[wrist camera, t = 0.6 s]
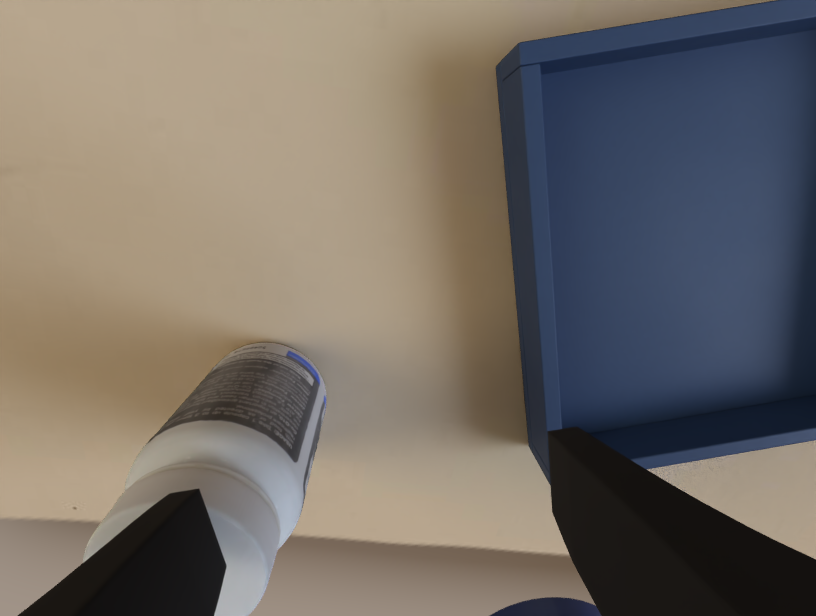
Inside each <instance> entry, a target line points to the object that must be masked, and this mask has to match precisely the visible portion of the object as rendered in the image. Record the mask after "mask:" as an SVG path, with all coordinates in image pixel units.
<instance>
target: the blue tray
mask: <svg viewBox="0 0 816 616" xmlns="http://www.w3.org/2000/svg"><path fill="white" fill-rule="evenodd" d="M496 75H497V87H498V98H499V109H500V121H501V132H502V144H503V155H504V167H505V178H506V190H507V201H508V213H509V224H510V236H511V247H512V259H513V270H514V282H515V293H516V305H517V316H518V328H519V339H520V351H521V362H522V374H523V385H524V397H525V408H526V420H527V431H528V443H529V447H530V449H531V451H532V453H533V455H534V456H535V458H536V460H537V462H538V464H539V466H540V467H541V469H542V471H543V473H544V475H545V476H546V478H547V480H548V482H549V484H550V485H551V481H550V465H549V449H548V433H547V431H552V430H558V429H564V428H571V427H578V428H580V429H582V430H584V431H585V432H587V433H589V434H590V435H592V436H593V437H595V438H597V439H598V440H600V441H601V442H603V443H605V444H606V445H608V446H609V447H611V448H612V449H614V450H616V451H617V452H619V453H620V454H622V455H624V456H625V457H627V458H628V459H630V460H632V461H633V462H635V463H636V464H638V465H640V466H641V467H643V468H645V469H651V468H657V467H663V466H669V465H674V464H680V463H686V462H692V461H698V460H703V459H709V458H715V457H721V456H726V455H732V454H738V453H744V452H750V451H755V450H761V449H767V448H773V447H779V446H784V445H790V444H796V443H802V442H808V441H813V440H816V0H776V1H770V2H764V3H758V4H751V5H745V6H739V7H733V8H727V9H721V10H715V11H709V12H703V13H696V14H690V15H684V16H678V17H672V18H666V19H660V20H654V21H648V22H642V23H635V24H629V25H623V26H617V27H611V28H605V29H599V30H593V31H587V32H580V33H574V34H568V35H562V36H556V37H550V38H544V39H538V40H532V41H525V42H520V43H518V44H517V45H516V46H515V47H514V48H513V49H512V50H511V51H510V52H509V53H508V54H507V55H506V56H505V57H504V58H503V59H502V60H501V62H500V63H499V64H498V65H497V66H496Z"/></svg>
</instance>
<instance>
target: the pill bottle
mask: <svg viewBox="0 0 816 616" xmlns="http://www.w3.org/2000/svg"><path fill="white" fill-rule="evenodd" d="M326 401H327V398H326V389H325V384H324V381H323V379H322V377H321V375H320V373H319V371H318V369H317V368H316V367H315V365H314V364H313V363H312V362H311V361H310V360H309V359H308V358H307V357H306V356H304V355H303V354H302V353H300V352H298V351H296V350H294V349H292V348H290V347H287V346H284V345H280V344H277V343H255V344H250V345H246V346H243V347H240V348H238V349H236V350H234V351H232V352H231V353H229V354H228V355H227V356H225V357H224V358H223V359H222V360H221V361H220V362H219V363H218V364H217V365H216V366H215V367H214V368H213V369H212V370H211V371H210V373H209V374H208V375H207V376H206V377H205V379H204V380H203V381H202V382H201V383H200V384H199V386H198V387H197V388H196V389H195V390H194V391H193V392H192V394H191V395H190V396H189V397H188V398H187V399H186V400H185V402H184V403H183V404H182V405H181V406H180V407H179V408H178V409H177V411H176V412H175V413H174V414H173V415H172V416H171V417H170V418H169V419H168V421H167V422H166V423H165V424H164V425H163V427H162V428H161V429H160V430H159V431H158V432H157V433H156V434H155V435H154V436H153V437H152V438H151V439H150V440H149V442H148V443H147V444H146V445H145V446H144V447H143V448H142V450H141V451H140V453H139V454H138V456H137V457H136V459H135V461H134V462H133V464H132V466H131V468H130V471H129V473H128V476H127V479H126V484H125V491H124V493H123V494H122V495H121V496H120V497H119V499H118V500H117V502H116V503H115V505H114V506H113V508H112V509H111V510H110V512H109V513H108V514H107V516H106V517H105V518H104V519H103V521H102V522H101V523H100V525H99V526H98V527H97V529H96V530H95V532H94V533H93V535H92V536H91V538H90V540H89V542H88V544H87V546H86V549H85V552H84V557H83V563H84V562H85V561H86V560H87V559H89V558H90V557H91V556H92V555H93V554H95V553H96V552H97V551H98V550H99V549H101V548H102V547H103V546H104V545H105V544H107V543H108V542H109V541H110V540H111V539H113V538H114V537H115V536H116V535H117V534H119V533H120V532H121V531H122V530H123V529H125V528H126V527H127V526H128V525H129V524H131V523H132V522H133V521H134V520H136V519H137V518H138V517H139V516H141V515H142V514H143V513H144V512H145V511H147V510H148V509H149V508H151V507H152V506H153V505H154V504H156V503H157V502H158V501H160V500H161V499H162V498H164V497H165V496H167V495H168V494H169V493H174V492H180V491H187V490H193V489H200V492H201V495H202V497H203V500H204V503H205V506H206V509H207V512H208V514H209V517H210V520H211V523H212V526H213V529H214V531H215V534H216V537H217V540H218V543H219V545H220V548H221V551H222V554H223V557H224V560H225V562H226V565H227V567H226V572H225V576H224V580H223V584H222V588H221V592H220V596H219V600H218V604H217V607H216V611H215V614H214V616H248V615H249V614H250V613H251V612H252V611H253V610H254V609H255V607H256V606H257V605H258V603H259V602H260V600H261V599H262V597H263V594H264V592H265V590H266V587H267V584H268V581H269V578H270V573H271V570H272V567H273V564H274V561H275V557H276V553H277V550H278V549H279V548H280V547H281V546H282V545H283V544H284V542H285V541H286V540H287V539H288V537H289V536H290V535H291V533H292V532H293V530H294V528H295V526H296V524H297V522H298V519H299V517H300V514H301V511H302V507H303V503H304V499H305V495H306V490H307V485H308V481H309V477H310V472H311V468H312V464H313V460H314V456H315V452H316V449H317V443H318V440H319V434H320V431H321V426H322V423H323V419H324V415H325V409H326Z"/></svg>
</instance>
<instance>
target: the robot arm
mask: <svg viewBox="0 0 816 616" xmlns="http://www.w3.org/2000/svg"><path fill="white" fill-rule="evenodd" d="M547 433H548V449H549V465H550V481H551V497H552V512H553V515H554V517H555V520H556V522H557V525H558V527H559V530H560V532H561V535H562V537H563V540H564V542H565V545H566V547H567V549H568V552H569V554H570V556H571V559H572V561H573V563H574V565H575V567H576V569H577V571H578V573H579V575H580V576H581V578H582V580H583V582H584V584H585V586H586V588H587V589H588V591H589V593H590V595H591V597H592V599H593V601H594V603H595V604H596V606H597V608H598V610H599V612H600V614H601V615H602V616H816V559H813V558H811V557H809V556H807V555H805V554H803V553H801V552H799V551H796V550H794V549H792V548H790V547H788V546H786V545H784V544H782V543H779V542H777V541H775V540H773V539H771V538H769V537H767V536H765V535H763V534H761V533H759V532H757V531H755V530H753V529H751V528H749V527H747V526H745V525H744V524H742V523H740V522H738V521H736V520H734V519H732V518H731V517H729V516H727V515H725V514H723V513H721V512H719V511H718V510H716V509H714V508H712V507H710V506H708V505H706V504H705V503H703V502H701V501H699V500H697V499H696V498H694V497H692V496H690V495H689V494H687V493H685V492H683V491H682V490H680V489H678V488H676V487H675V486H673V485H671V484H670V483H668V482H666V481H664V480H663V479H661V478H659V477H658V476H656V475H654V474H653V473H651V472H649V471H648V470H646V469H645V468H643V467H641V466H640V465H638V464H636V463H635V462H633V461H632V460H630V459H628V458H627V457H625V456H624V455H622V454H620V453H619V452H617V451H616V450H614V449H612V448H611V447H609V446H608V445H606V444H605V443H603V442H601V441H600V440H598V439H597V438H595V437H593V436H592V435H590V434H589V433H587V432H585V431H584V430H582V429H580V428H578V427H571V428H564V429H558V430H552V431H547ZM226 567H227V565H226V562H225V560H224V557H223V554H222V551H221V548H220V545H219V543H218V540H217V537H216V534H215V531H214V529H213V526H212V523H211V520H210V517H209V514H208V512H207V509H206V506H205V503H204V500H203V497H202V495H201V492H200V489H193V490H187V491H180V492H174V493H169V494H168V495H167V496H165V497H164V498H162V499H161V500H160V501H158V502H157V503H156V504H154V505H153V506H152V507H151V508H149V509H148V510H147V511H145V512H144V513H143V514H142V515H141V516H139V517H138V518H137V519H136V520H134V521H133V522H132V523H131V524H129V525H128V526H127V527H126V528H125V529H123V530H122V531H121V532H120V533H119V534H117V535H116V536H115V537H114V538H113V539H111V540H110V541H109V542H108V543H107V544H105V545H104V546H103V547H102V548H101V549H99V550H98V551H97V552H96V553H95V554H93V555H92V556H91V557H90V558H89V559H87V560H86V561H85V562H84V563H83V564H81V565H80V566H79V567H78V568H77V569H75V570H74V571H73V572H72V573H70V574H69V575H68V576H67V577H66V578H65V579H63V580H62V581H61V582H60V583H59V584H57V585H56V586H55V587H54V588H52V589H51V590H50V591H48V592H47V593H46V594H45V595H43V596H42V597H41V598H40V599H38V600H37V601H36V602H34V603H33V604H32V605H31V606H29V607H28V608H27V609H26V610H24V611H23V612H22V613H21V614H19V615H18V616H214V614H215V611H216V607H217V604H218V600H219V596H220V592H221V588H222V584H223V580H224V576H225V572H226Z"/></svg>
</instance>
